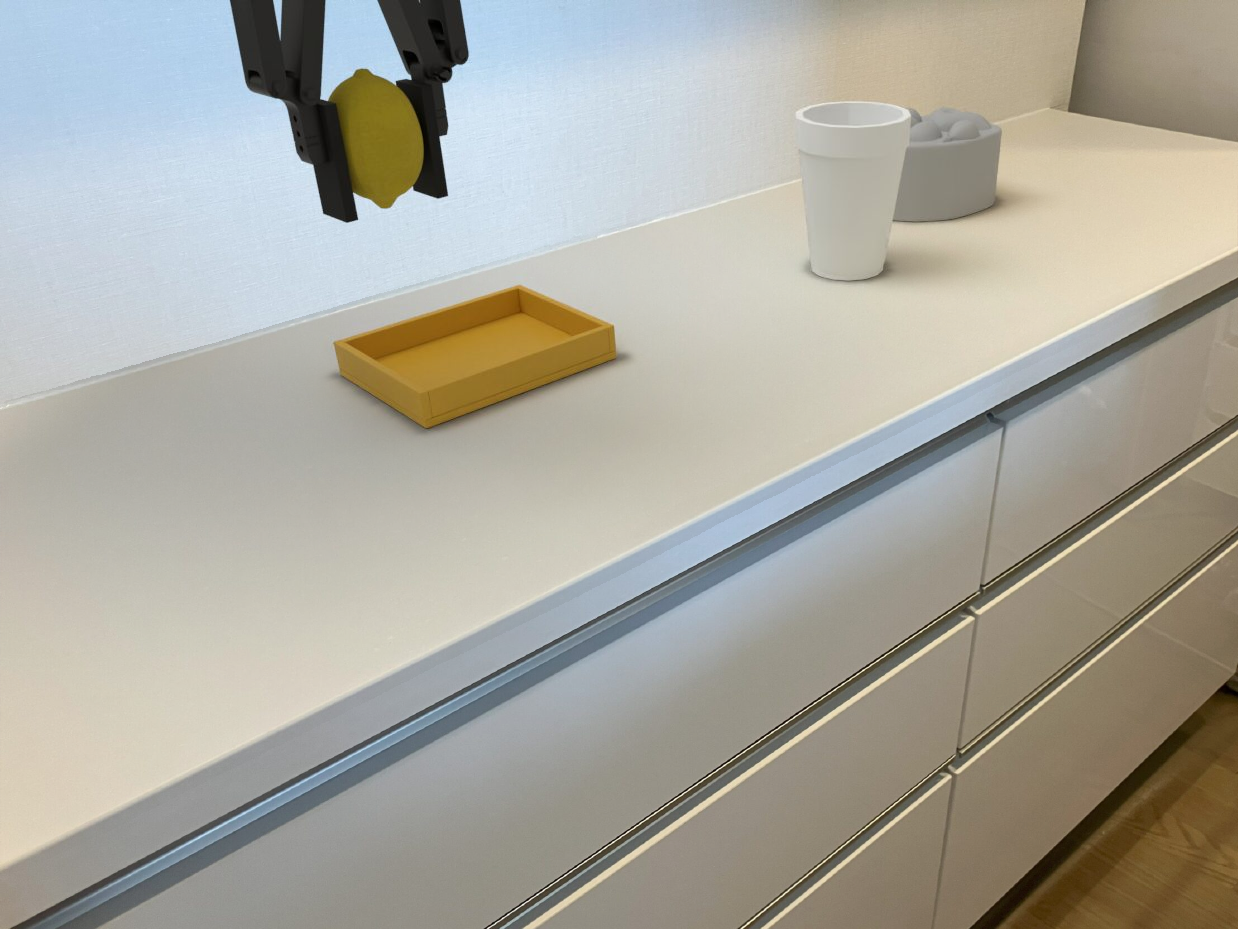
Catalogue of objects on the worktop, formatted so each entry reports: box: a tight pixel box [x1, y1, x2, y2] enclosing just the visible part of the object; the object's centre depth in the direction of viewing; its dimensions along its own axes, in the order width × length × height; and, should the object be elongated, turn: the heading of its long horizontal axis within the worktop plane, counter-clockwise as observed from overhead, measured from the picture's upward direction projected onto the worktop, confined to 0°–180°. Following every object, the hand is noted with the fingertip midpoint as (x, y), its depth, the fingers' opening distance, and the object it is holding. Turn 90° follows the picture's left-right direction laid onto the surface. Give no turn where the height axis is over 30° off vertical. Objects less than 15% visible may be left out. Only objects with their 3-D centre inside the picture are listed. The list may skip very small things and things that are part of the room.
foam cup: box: [794, 100, 911, 282], centre depth 97 cm, size 10×9×13 cm
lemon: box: [327, 68, 424, 210], centre depth 67 cm, size 6×6×8 cm
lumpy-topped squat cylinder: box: [893, 106, 1003, 222], centre depth 113 cm, size 10×13×9 cm
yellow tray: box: [333, 284, 617, 429], centre depth 84 cm, size 16×12×3 cm
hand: (386, 203), depth 69 cm, fingers closed on lemon, 5 cm apart
